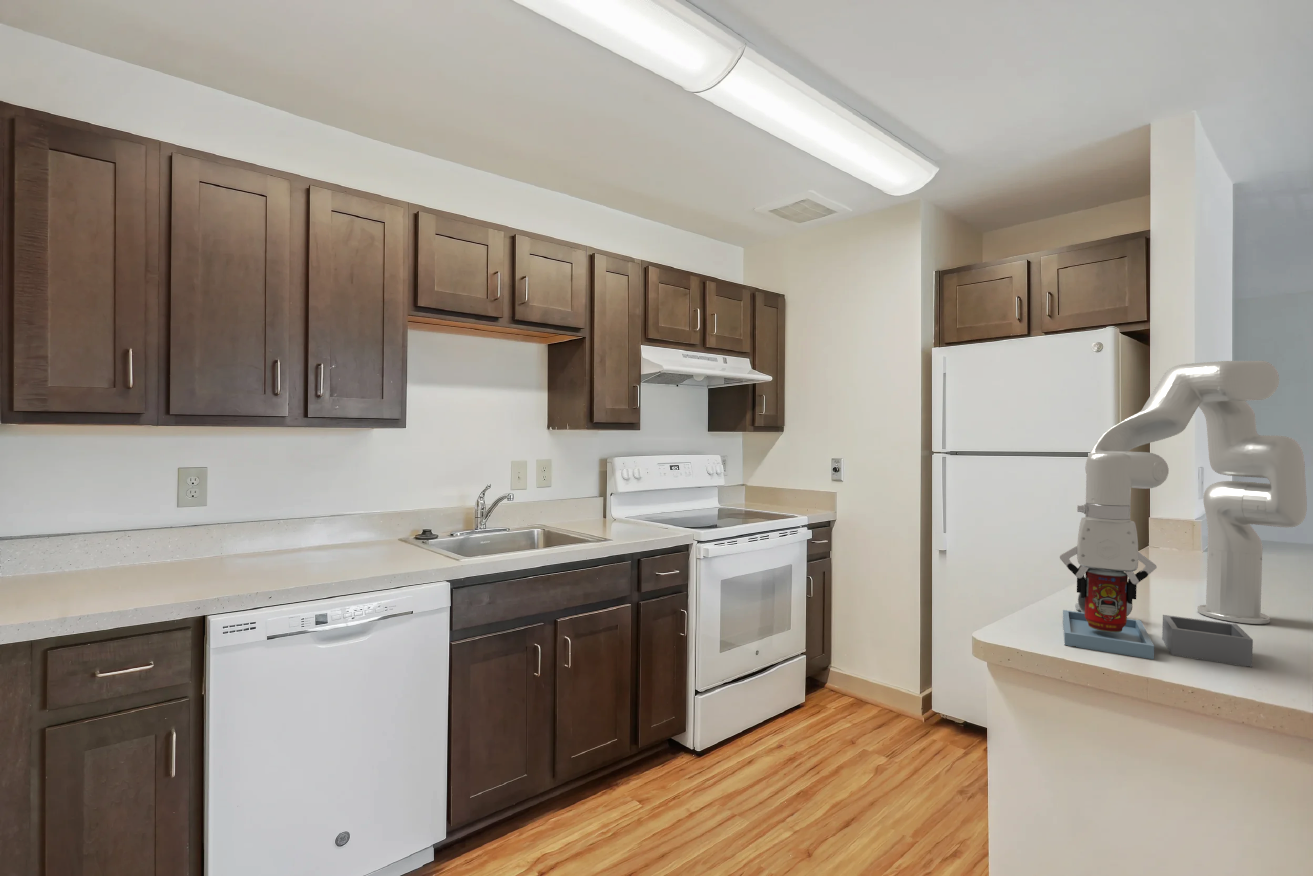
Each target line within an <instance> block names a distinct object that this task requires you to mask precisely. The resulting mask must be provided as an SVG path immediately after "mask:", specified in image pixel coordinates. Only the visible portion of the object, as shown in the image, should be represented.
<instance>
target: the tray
mask: <svg viewBox="0 0 1313 876" xmlns="http://www.w3.org/2000/svg"><path fill="white" fill-rule="evenodd" d="M1062 630H1064V631H1063V641H1064V643H1065V644H1064V646H1066V645H1068V647H1072V646H1076V647H1075V648H1079V649H1084V650H1085V649H1086V650H1091V651H1092V650H1093V651H1098V652H1099V651H1100V652H1105V653H1111V654H1116V655H1117V654H1118V655H1123V656H1130V657H1137V658H1144V659H1147V660H1148V659H1149V660H1154V659H1155V645H1154V643H1153V641H1152V640H1151V637H1150V635H1149V633H1148V631H1147V628H1146V627H1145V626H1144V624H1143V621H1142V620H1140V619H1134V618H1127V622H1126V625H1125V626H1124V627H1123V628H1122V631H1121V632H1105V631H1100V630H1096V629H1093V628H1091V627H1089V625H1088V622H1087V620H1086V618H1085V613H1082V612H1081V611H1073V610H1067V609H1066V610H1065V609H1063V610H1062Z"/></svg>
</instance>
